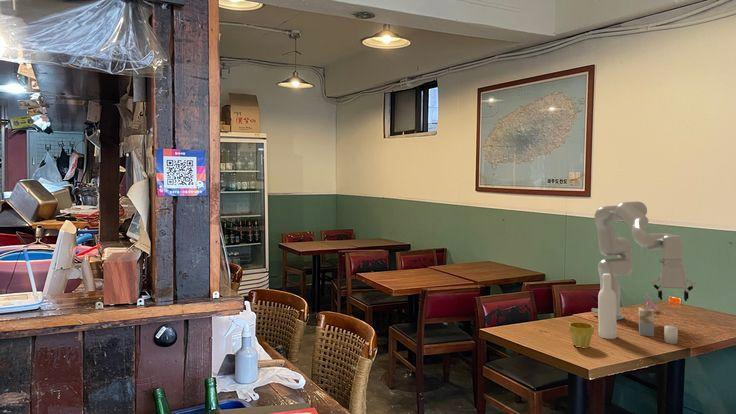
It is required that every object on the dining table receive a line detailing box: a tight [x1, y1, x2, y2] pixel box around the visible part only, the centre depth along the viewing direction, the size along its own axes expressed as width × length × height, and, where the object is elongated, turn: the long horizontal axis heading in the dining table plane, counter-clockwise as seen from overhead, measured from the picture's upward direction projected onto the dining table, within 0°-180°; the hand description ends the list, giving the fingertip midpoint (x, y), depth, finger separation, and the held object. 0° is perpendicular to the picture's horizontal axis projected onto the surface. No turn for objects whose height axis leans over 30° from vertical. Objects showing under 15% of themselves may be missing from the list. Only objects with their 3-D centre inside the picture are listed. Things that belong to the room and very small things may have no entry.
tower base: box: [638, 321, 655, 337], centre depth 242 cm, size 6×6×6 cm
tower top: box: [638, 306, 655, 325], centre depth 242 cm, size 6×6×6 cm
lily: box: [643, 292, 660, 313], centre depth 281 cm, size 12×12×10 cm
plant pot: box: [568, 321, 595, 347], centre depth 228 cm, size 10×10×10 cm
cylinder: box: [663, 324, 679, 345], centre depth 229 cm, size 5×5×7 cm
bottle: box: [597, 274, 618, 340], centre depth 240 cm, size 8×8×30 cm
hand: (673, 299), depth 229 cm, fingers open, 9 cm apart
